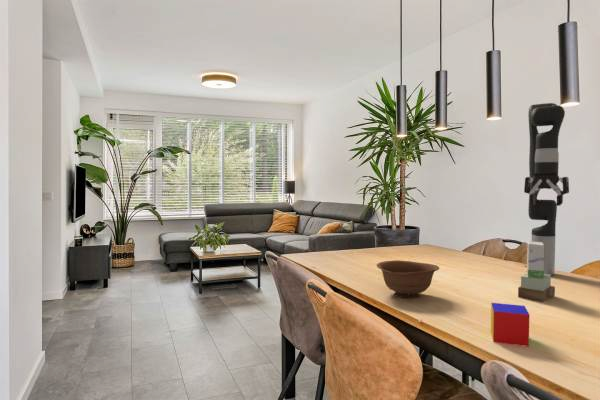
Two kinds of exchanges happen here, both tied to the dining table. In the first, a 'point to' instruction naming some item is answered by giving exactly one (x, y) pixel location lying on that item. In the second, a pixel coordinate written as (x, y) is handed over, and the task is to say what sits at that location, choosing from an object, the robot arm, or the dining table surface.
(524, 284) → the sage block
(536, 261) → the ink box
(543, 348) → the dining table surface
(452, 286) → the dining table surface
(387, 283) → the bowl
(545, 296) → the walnut slab
